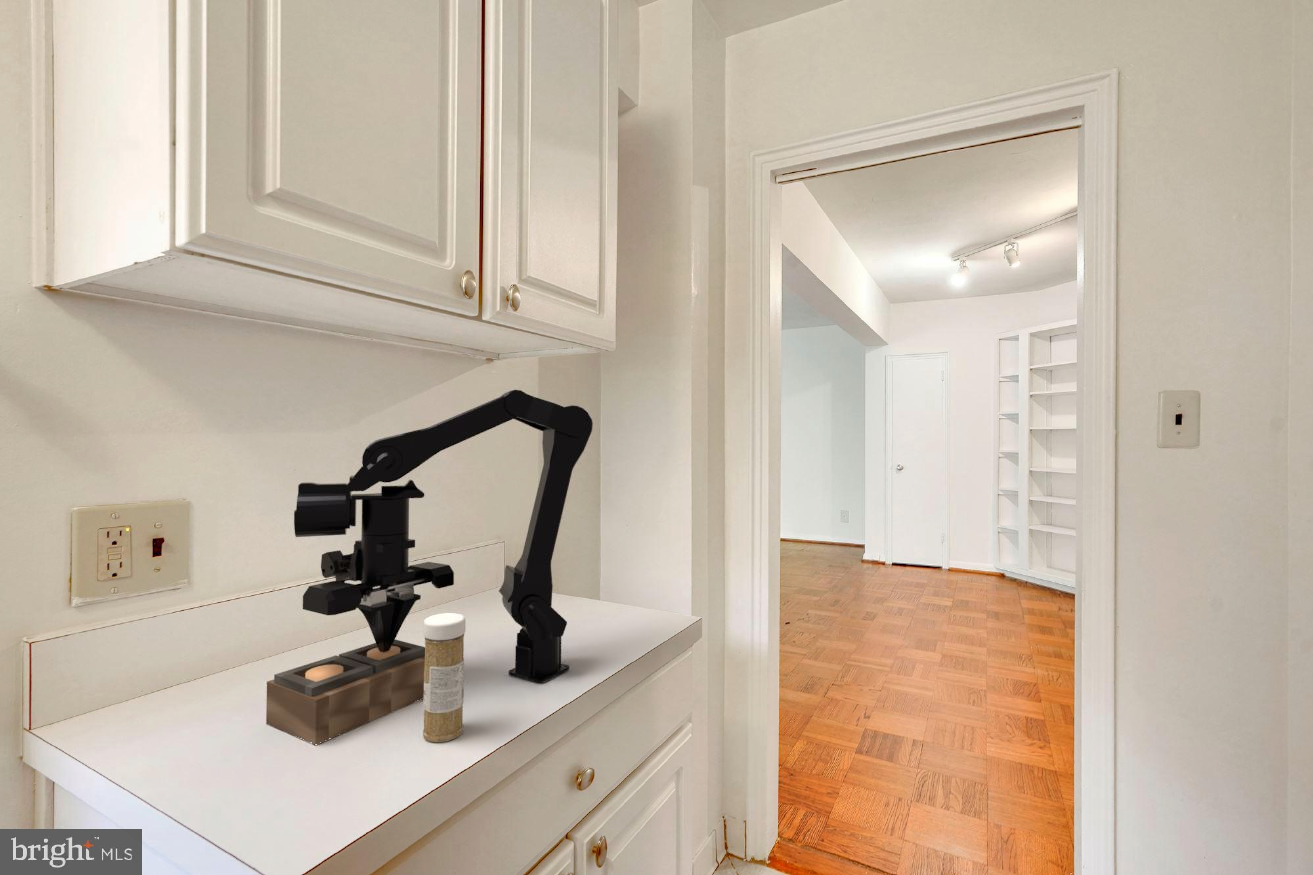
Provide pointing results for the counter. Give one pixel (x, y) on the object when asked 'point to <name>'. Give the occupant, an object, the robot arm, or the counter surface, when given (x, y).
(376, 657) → the peg
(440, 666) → the sprinkles bottle
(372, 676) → the socket block
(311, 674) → the peg
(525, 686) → the counter surface
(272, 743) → the counter surface
